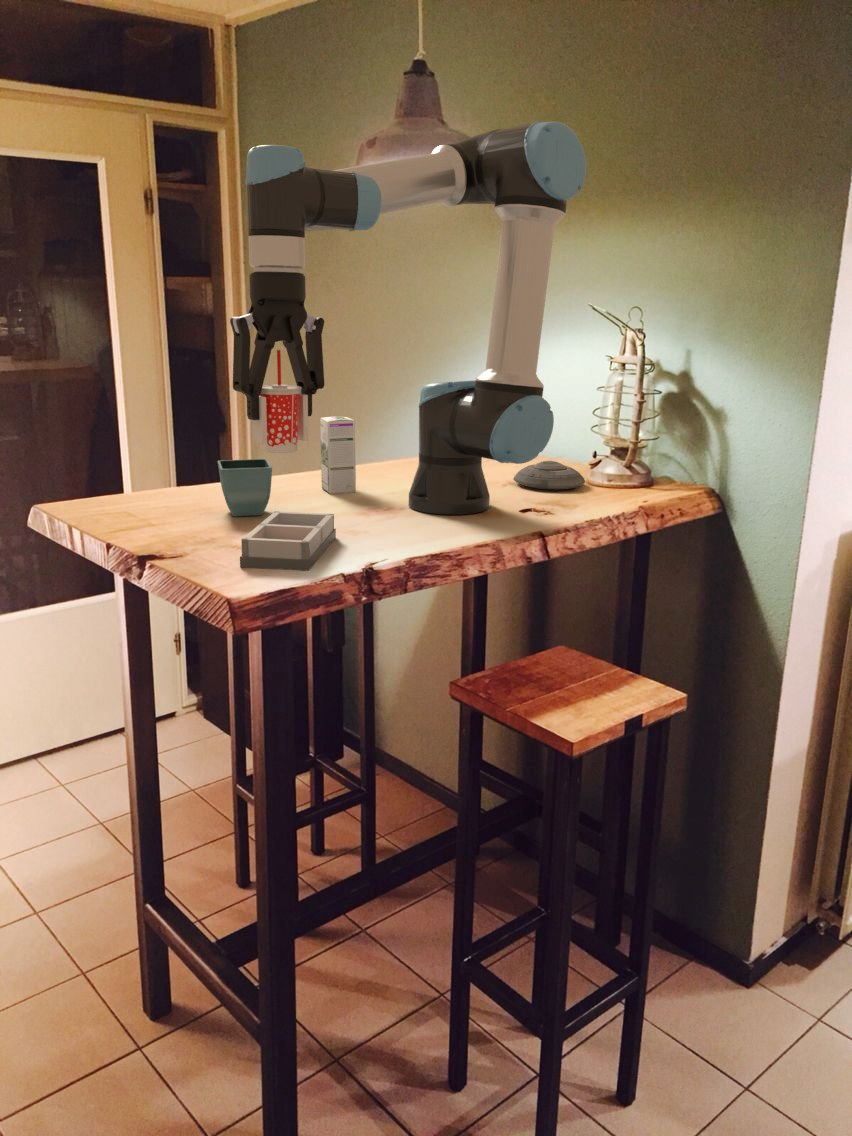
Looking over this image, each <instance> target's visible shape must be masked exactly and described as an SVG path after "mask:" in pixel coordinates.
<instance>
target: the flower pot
mask: <svg viewBox="0 0 852 1136" xmlns="http://www.w3.org/2000/svg"><path fill="white" fill-rule="evenodd" d="M217 466H218V468H217V469H218V473H219V474H218V475H219V479H220V484H221V485H220V486H221V490H222V493H223V497H224V500H225V503H226V505H227V508H228V509H229V512H230V513H231V515H232V516H233V517H247V516H261V515H263V514H264V512H265V510H266V508H267V506H268V504H269V500H270V496H271V490H272V477H273V475H272V473H273V466H272V465H271V463H270V461H269V460H268V459H267V458H259V459H258V458H256V459H255V458H254V459H249V458H248V459H229V460H228V459H227V460H226V459H225V460H224V459H222V460H217Z"/></svg>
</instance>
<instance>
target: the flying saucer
mask: <svg viewBox="0 0 852 1136" xmlns="http://www.w3.org/2000/svg"><path fill="white" fill-rule="evenodd" d="M513 481H515V482H516V483H517V484H520V485H521V486H524V487H528V488H534V489H540V490H569V489H574V488H578V487H581V486H583V485H584V484H585V483H586V480H585V477H583V475H582V474H581V473H580V472H579V471H577V469H574V468H573V467H571V466H569V465H565V464H563V463H561V462H558V461H555V460H544V461H543V460H542V461H540V462H536V463H535V464H530V465H527V466H525V467H523V468H521V469H520V470H519V471H517V472H516V474H515V475H514V476H513Z"/></svg>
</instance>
